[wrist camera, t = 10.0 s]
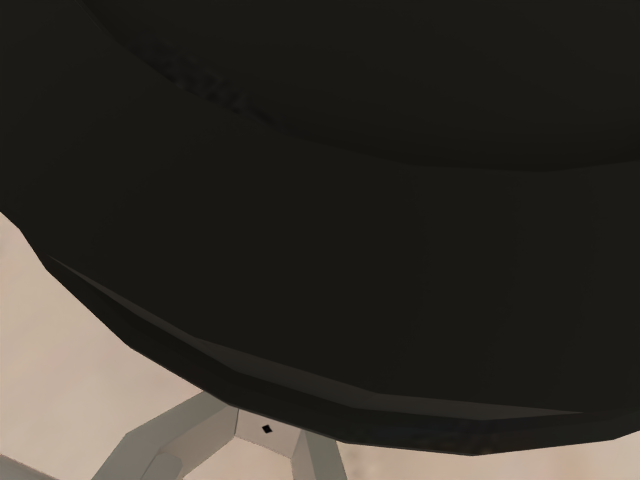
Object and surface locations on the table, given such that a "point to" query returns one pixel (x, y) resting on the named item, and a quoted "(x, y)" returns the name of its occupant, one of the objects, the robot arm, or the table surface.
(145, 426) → the robot arm
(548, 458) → the table surface
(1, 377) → the table surface
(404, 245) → the coffee cup
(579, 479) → the table surface
